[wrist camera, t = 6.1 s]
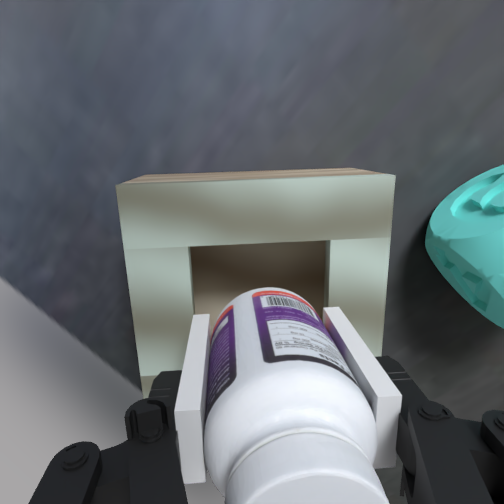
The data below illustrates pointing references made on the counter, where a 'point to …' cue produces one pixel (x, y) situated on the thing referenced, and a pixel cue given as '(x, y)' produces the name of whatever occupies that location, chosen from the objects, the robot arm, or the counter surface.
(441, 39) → the counter surface
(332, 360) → the pill bottle
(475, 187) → the engraved teal number block
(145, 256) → the grey hollow square block
